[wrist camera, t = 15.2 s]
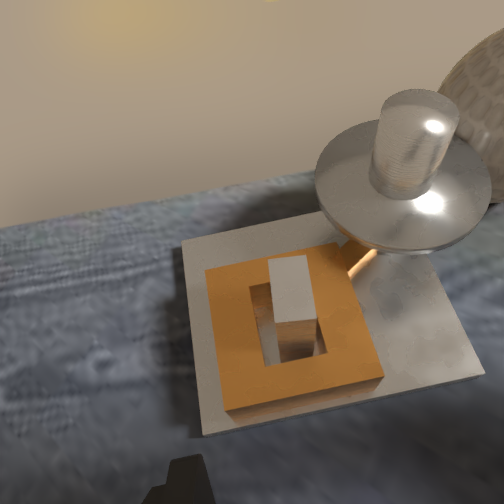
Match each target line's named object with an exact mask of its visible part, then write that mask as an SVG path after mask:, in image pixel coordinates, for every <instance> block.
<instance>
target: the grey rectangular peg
mask: <svg viewBox="0 0 504 504" xmlns="http://www.w3.org/2000/svg"><path fill="white" fill-rule="evenodd" d="M268 266H269V275H270V284H271V293H272V302H273V311H274V320H275V328H276V334H277V341H278V348H279V354H280V361H281V363H285V362H289V361H294V360H299V359H303V358H308V357H312V356H313V355H314V344H315V334H316V323H317V316H316V310H315V304H314V298H313V292H312V286H311V280H310V275H309V269H308V263H307V257H306V255H300V256H292V257H283V258H275V259H268Z"/></svg>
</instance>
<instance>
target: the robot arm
mask: <svg viewBox="0 0 504 504" xmlns="http://www.w3.org/2000/svg"><path fill="white" fill-rule="evenodd" d="M142 504H216V503H215V499H214V496H213V492H212V489H211V485H210V481H209V478H208V474H207V470H206V467H205V463H204V460H203V457H202V455H201V454H196V455H192V456H187V457H182V458H178V459H173V460H171V462H170V466H169V471H168V476H167V481H166V484H164V485H160V486H155V487H152V488H151V490H150V491H149V493H148V495H147V496H146V498H145V499H144V501H143V502H142Z"/></svg>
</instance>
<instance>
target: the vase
mask: <svg viewBox="0 0 504 504" xmlns="http://www.w3.org/2000/svg"><path fill="white" fill-rule="evenodd" d="M437 93H440V94H442V95H444V96H446V97H447V98H449V99H450V100H451V101H452V102H453V103H454V104H455V105H456V107H457V108H458V111H459V115H460V119H459V123H458V125H457V127H456V130H455V132H454V134H455V135H457V136H458V137H460V138H461V139H463V140H464V141H465V142H467V143H468V144H469V145H470V146H471V147H472V148H473V149H474V150H475V151H476V152H477V153H478V155H479V156H480V157H481V158H482V160H483V162H484V163H485V165H486V167H487V170H488V172H489V175H490V179H491V188H492V193H491V199H490V203H500V202H504V28H503V29H501V30H499V31H497V32H495V33H493V34H492V35H490V36H489V37H487V38H486V39H484V40H483V41H481V42H480V43H478V44H477V45H476V46H475V47H474V48H473V49H471V50H470V51H469V52H468V53H467V54H466V55H465V56H464V57H463V58H462V59H461V60H460V61H459V62H458V63H457V64H456V65H455V66H454V67H453V69H452V70H451V71H450V73H449V74H448V75H447V76H446V78H445V79H444V81H443V82H442V84H441V86H440V88H439V90H438V91H437Z"/></svg>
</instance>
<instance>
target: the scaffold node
mask: <svg viewBox="0 0 504 504" xmlns="http://www.w3.org/2000/svg"><path fill="white" fill-rule="evenodd" d="M459 119H460V115H459V111H458V108H457V107H456V105H455V104H454V103H453V102H452V101H451V100H450V99H449V98H447V97H446V96H444V95H442V94H440V93H437V92H434V91H430V90H423V89H410V90H404V91H401V92H398V93H396V94H394V95H392V96H390V97H389V98H388V99H387V100H386V101H385V103H384V104H383V107H382V109H381V114H380V119H379V120H373V121H368V122H365V123H361V124H358V125H356V126H353V127H351V128H349V129H347V130H345V131H343V132H342V133H340V134H339V135H338V136H336V137H335V138H334V139H333V140H332V141H330V143H329V144H328V145H327V146H326V147H325V148H324V150H323V152H322V153H321V155H320V157H319V159H318V162H317V166H316V170H315V194H316V198H317V202H318V204H319V206H320V208H321V210H322V211H318V212H314V213H309V214H304V215H300V216H295V217H290V218H286V219H281V220H276V221H272V222H267V223H262V224H258V225H253V226H248V227H244V228H239V229H234V230H230V231H225V232H220V233H216V234H211V235H206V236H202V237H197V238H193V239H188V240H183V241H181V244H182V253H183V262H184V271H185V280H186V289H187V298H188V307H189V316H190V325H191V334H192V343H193V352H194V361H195V370H196V379H197V388H198V397H199V406H200V415H201V424H202V433H203V436H205V437H206V438H207V437H212V436H216V435H221V434H226V433H230V432H235V431H239V430H244V429H248V428H253V427H257V426H262V425H267V424H271V423H276V422H280V421H285V420H289V419H294V418H299V417H303V416H308V415H312V414H317V413H321V412H326V411H331V410H335V409H340V408H344V407H349V406H353V405H358V404H363V403H367V402H372V401H376V400H381V399H385V398H390V397H394V396H399V395H404V394H408V393H413V392H417V391H422V390H426V389H431V388H436V387H440V386H445V385H449V384H454V383H458V382H463V381H468V380H472V379H477V378H479V377H481V376H482V375H484V374H485V372H484V370H483V367H482V365H481V363H480V361H479V359H478V357H477V355H476V353H475V351H474V349H473V347H472V345H471V343H470V341H469V339H468V337H467V335H466V333H465V331H464V329H463V327H462V325H461V323H460V321H459V319H458V317H457V315H456V313H455V311H454V309H453V307H452V305H451V303H450V301H449V299H448V297H447V295H446V293H445V291H444V289H443V287H442V285H441V283H440V281H439V279H438V276H437V274H436V272H435V270H434V268H433V266H432V264H431V262H430V260H429V258H428V256H427V254H426V253H432V252H435V251H439V250H443V249H445V248H447V247H450V246H452V245H454V244H456V243H457V242H459V241H461V240H462V239H464V238H465V237H466V236H467V235H469V234H470V233H471V232H472V231H473V229H474V228H475V227H476V226H477V225H478V223H479V222H480V220H481V219H482V217H483V215H484V214H485V212H486V210H487V208H488V206H489V203H490V199H491V193H492V188H491V179H490V175H489V172H488V170H487V167H486V165H485V163H484V162H483V160H482V158H481V157H480V156H479V155H478V153H477V152H476V151H475V150H474V149H473V148H472V147H471V146H470V145H469V144H468V143H467V142H465V141H464V140H463V139H461V138H460V137H458V136H457V135H455V134H454V132H455V130H456V127H457V125H458V123H459ZM300 255H306V257H307V263H308V269H309V275H310V280H311V286H312V292H313V298H314V304H315V310H316V316H317V323H316V334H315V344H314V355H313V356H312V357H308V358H303V359H299V360H294V361H289V362H285V363H281V361H280V354H279V348H278V341H277V334H276V328H275V320H274V311H273V302H272V293H271V284H270V275H269V266H268V259H275V258H283V257H292V256H300Z"/></svg>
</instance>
